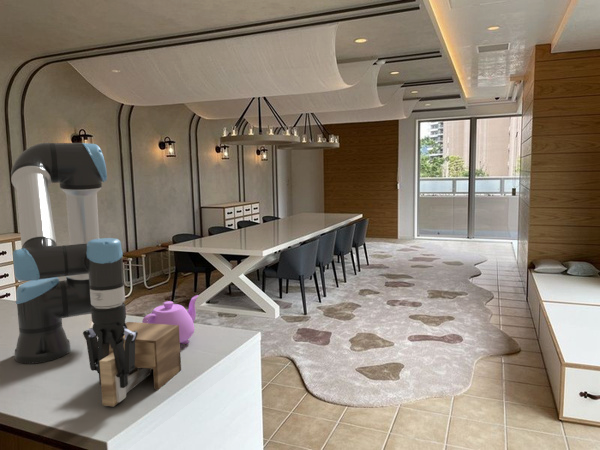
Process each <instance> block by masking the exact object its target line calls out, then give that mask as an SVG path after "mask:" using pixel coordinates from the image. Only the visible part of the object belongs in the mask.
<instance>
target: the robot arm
mask: <svg viewBox="0 0 600 450" xmlns="http://www.w3.org/2000/svg"><path fill="white" fill-rule="evenodd" d="M107 174H108V173H107V166H106V161H105V157H104V154H103V151H102V149H101V148H100V146H99V145H98V144H96V143H87V142H39V143H37V144H33V145H31V146H30V147H27V149H25V150H24V151H23V152H22V153H21V154H19V155H18V157H17V158H16V160H15V161H14V163H13V165H12V167H11V172H10V179H11V181H10V182H11V184H12V186H13V187H14V189H16V197H17V198H16V199H17V209H18V210H17V211H18V220H19V231H20V242H21V248H20V249H19V248H18V249H15V250H13V252H12V260H13V261H12V262H13V263H12V264H13V272H14V278H15V279H16V281H19V282H24V283H22V284H20V285H18V287H17V288H16V290H15V297H16V300H15V304H16V308H17V320H18V323H17V324H18V338H17V342H16V348H15V350H14V353H13V355H14V360H15V362H17V363H19V364H30V365H31V364H40V363H45V362H49V361H54V360H57V359H60V358H62V357H63V356H66V355H67V354H69V352H70V351H71V342H70V339H68V337H67V334H66V332H65V331H66V330H65V329H64V327H63V320H62V319H66V318H67V319H68V318H72V317H78V316H83V315H84V316H85V315H91V321H92V323H93V324H92V327H90V328H88V329H85V330H83V332H82V334H83V335H82V336H83V337H84V339H85V343H86V348H87V355H88V360H89V367H90V370H91V371H96V372H97V374H98V380H99V386H101V376H100V362H99V361H100V360H102V359H103V358H105V357H106V356H108V355H109V346H110V345H111V348H112V349H113V353H114V358H115V362H116V367H117V372H118V374H117V375H116V376H115V383H116V397H117V402H119V403H121V402H122V401H123V400H124V399H126V398H127V393H126V386H127V385H128V377H127V374H128V373H130V372H131V371H132V370H134V369H135V340H136V337H137V335H138V333H137V331H134V332H132V331H130V330H128V329H127V325H126V323H127V322H126V318H127V309H126V303H125V302H126V292H125V282H124V281H125V280H124V267H123V266H124V264H123V255H124V252H123V249H122V243H121V240H120V239H118V238H116V237H115V238H113V237H102V238H100V227H99V211H98V209H99V208H98V207H99V206H98V192H99V191H101V189H102V187H103V186H102V184H103V183H105V182H106V181H107V180H108V175H107ZM55 183H56V184H57V183H59V189H60V190H61V191H63V193H65V197H66V198H65V199H66V213H67V226H68V227H67V228H68V241H69V244H66V245H58V244H57V238H56V231H55V224H54V216H53V212H52V204H51V197H50V196H51V195H50V190H49V189H50V188H49V187H50V185H51V184H55ZM61 277H66V278H65V279H64V280H60V278H61ZM124 335H125V338H124V339H125V340H126V341H125V351H124V346H123V344H124V339H123V336H124Z"/></svg>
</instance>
